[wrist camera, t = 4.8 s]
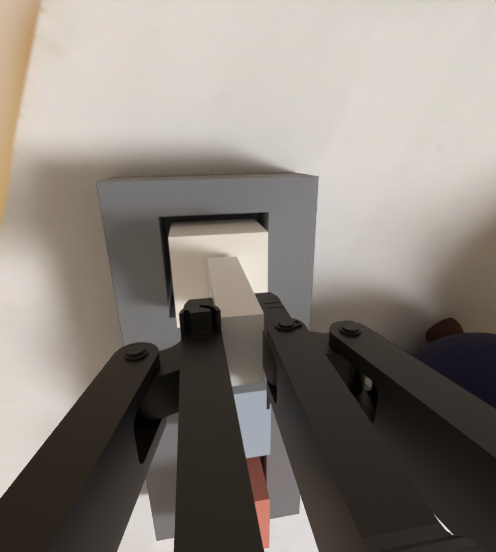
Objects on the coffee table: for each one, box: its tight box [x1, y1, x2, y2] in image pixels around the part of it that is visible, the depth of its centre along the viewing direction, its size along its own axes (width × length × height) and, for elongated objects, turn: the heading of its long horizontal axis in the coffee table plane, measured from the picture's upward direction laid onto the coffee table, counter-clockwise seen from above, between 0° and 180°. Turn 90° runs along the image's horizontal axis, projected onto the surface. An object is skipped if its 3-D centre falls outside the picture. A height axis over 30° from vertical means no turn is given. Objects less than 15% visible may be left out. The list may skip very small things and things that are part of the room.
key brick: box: [246, 456, 270, 548], centre depth 24 cm, size 5×5×4 cm
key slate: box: [232, 372, 271, 458], centre depth 21 cm, size 5×5×4 cm
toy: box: [412, 318, 496, 409], centre depth 23 cm, size 12×14×15 cm
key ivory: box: [168, 218, 268, 328], centre depth 19 cm, size 5×5×4 cm
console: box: [96, 173, 319, 541], centre depth 25 cm, size 28×12×4 cm, turn 1°
